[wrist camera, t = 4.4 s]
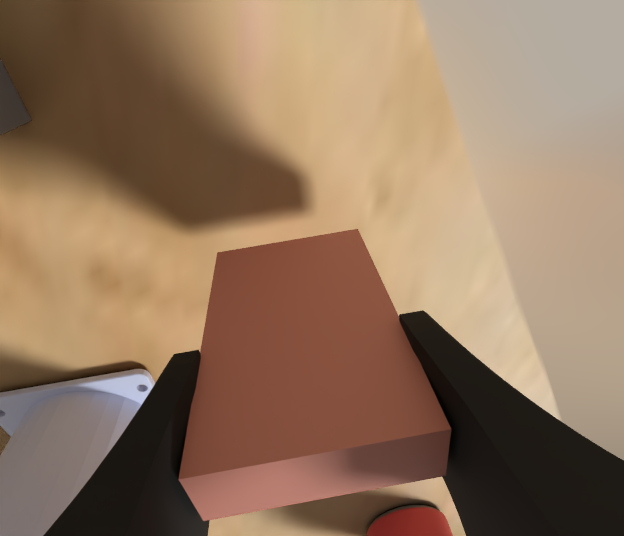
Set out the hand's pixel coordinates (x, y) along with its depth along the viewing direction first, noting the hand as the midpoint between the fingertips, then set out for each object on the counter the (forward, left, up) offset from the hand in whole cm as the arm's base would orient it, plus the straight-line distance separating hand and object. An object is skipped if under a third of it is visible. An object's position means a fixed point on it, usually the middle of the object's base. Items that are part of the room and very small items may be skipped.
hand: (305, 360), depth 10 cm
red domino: (0, 0, -5) cm, 5 cm away
